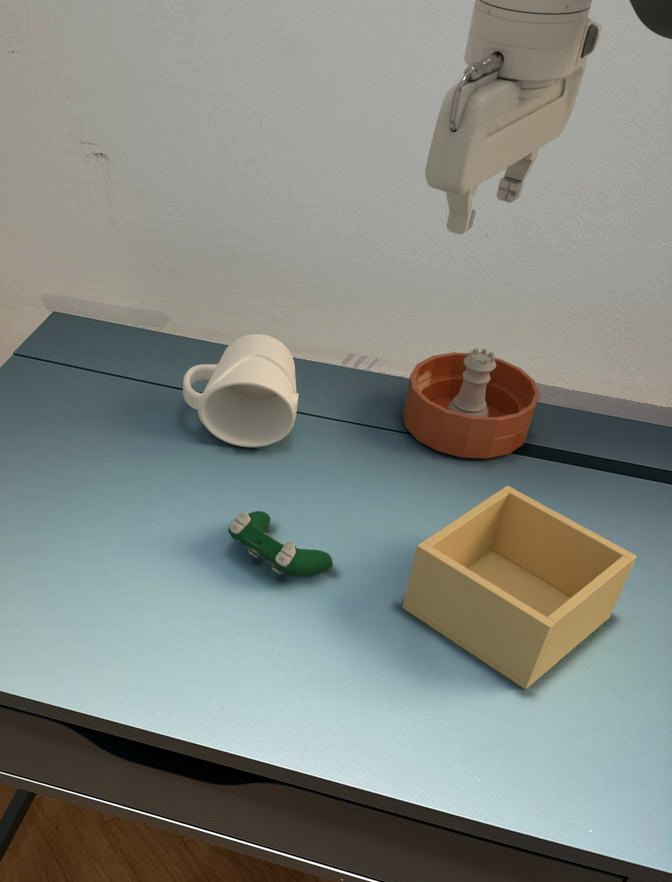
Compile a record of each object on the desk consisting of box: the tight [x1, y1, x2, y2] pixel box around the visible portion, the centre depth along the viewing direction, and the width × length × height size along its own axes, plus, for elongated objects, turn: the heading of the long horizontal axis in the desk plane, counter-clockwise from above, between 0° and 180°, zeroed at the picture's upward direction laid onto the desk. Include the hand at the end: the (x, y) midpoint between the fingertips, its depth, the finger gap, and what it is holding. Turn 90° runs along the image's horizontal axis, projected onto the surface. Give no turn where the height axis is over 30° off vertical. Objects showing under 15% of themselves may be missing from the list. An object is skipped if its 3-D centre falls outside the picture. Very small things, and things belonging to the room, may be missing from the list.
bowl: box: [402, 351, 541, 459], centre depth 104 cm, size 13×13×5 cm
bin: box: [401, 485, 637, 690], centre depth 83 cm, size 13×13×7 cm
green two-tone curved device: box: [227, 510, 334, 578], centre depth 89 cm, size 9×4×6 cm
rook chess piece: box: [447, 347, 496, 417], centre depth 103 cm, size 4×4×8 cm
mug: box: [182, 333, 299, 448], centre depth 102 cm, size 12×9×8 cm
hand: (483, 214), depth 90 cm, fingers open, 8 cm apart
